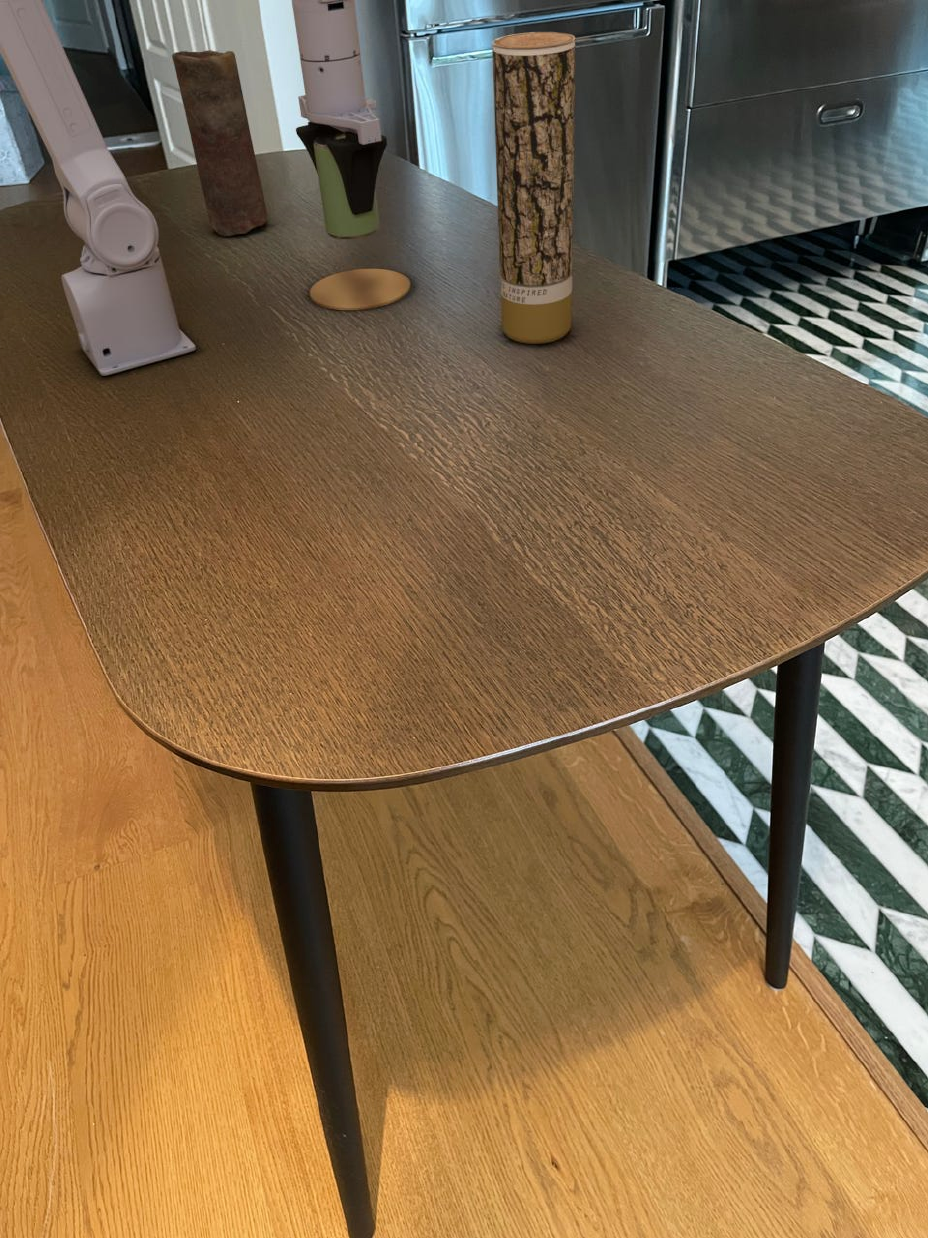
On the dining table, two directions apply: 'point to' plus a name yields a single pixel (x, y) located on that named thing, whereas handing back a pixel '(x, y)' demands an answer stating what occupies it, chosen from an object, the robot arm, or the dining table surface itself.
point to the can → (339, 196)
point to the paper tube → (535, 182)
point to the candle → (221, 140)
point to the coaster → (360, 289)
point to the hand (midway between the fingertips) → (349, 204)
